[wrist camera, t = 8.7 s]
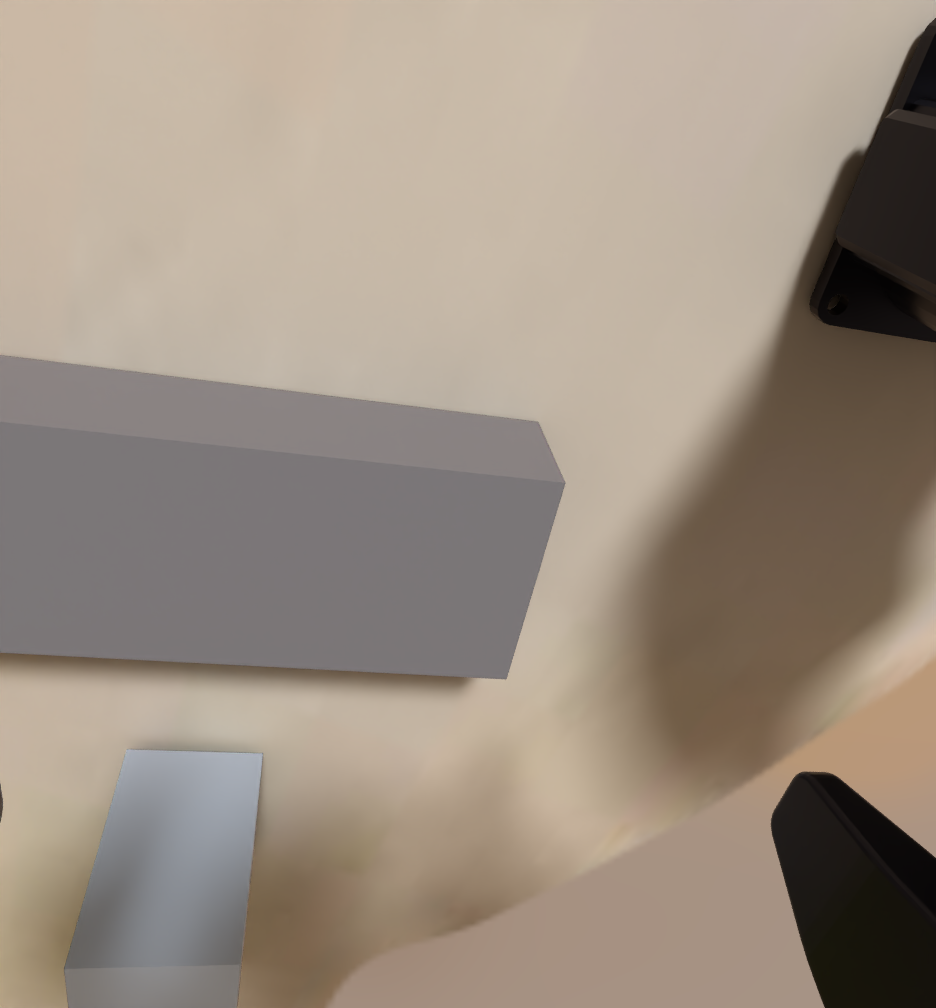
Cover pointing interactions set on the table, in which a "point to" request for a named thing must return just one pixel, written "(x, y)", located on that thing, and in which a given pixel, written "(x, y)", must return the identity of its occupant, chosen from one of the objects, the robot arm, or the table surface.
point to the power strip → (263, 525)
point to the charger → (169, 885)
